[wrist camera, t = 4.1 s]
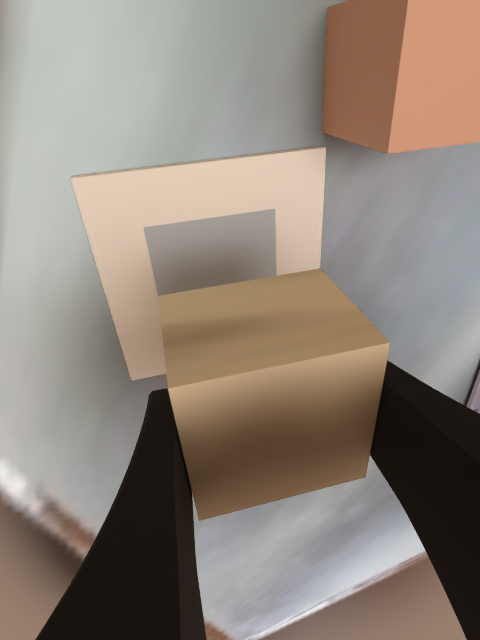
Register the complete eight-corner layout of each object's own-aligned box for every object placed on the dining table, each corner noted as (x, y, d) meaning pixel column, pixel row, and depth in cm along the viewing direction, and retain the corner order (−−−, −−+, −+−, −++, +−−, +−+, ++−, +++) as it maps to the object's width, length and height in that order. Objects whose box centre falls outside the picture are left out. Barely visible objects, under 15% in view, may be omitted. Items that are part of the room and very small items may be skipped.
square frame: (313, 339, 21) (316, 344, 21) (131, 375, 20) (131, 381, 20) (322, 146, 16) (326, 147, 16) (71, 176, 14) (70, 178, 14)
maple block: (313, 386, 15) (365, 477, 11) (183, 415, 14) (199, 520, 11) (319, 268, 12) (390, 342, 9) (158, 295, 11) (167, 388, 8)
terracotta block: (410, 122, 16) (502, 139, 12) (321, 132, 16) (387, 153, 12) (429, 0, 14) (550, -29, 10) (327, 7, 14) (411, -21, 9)
